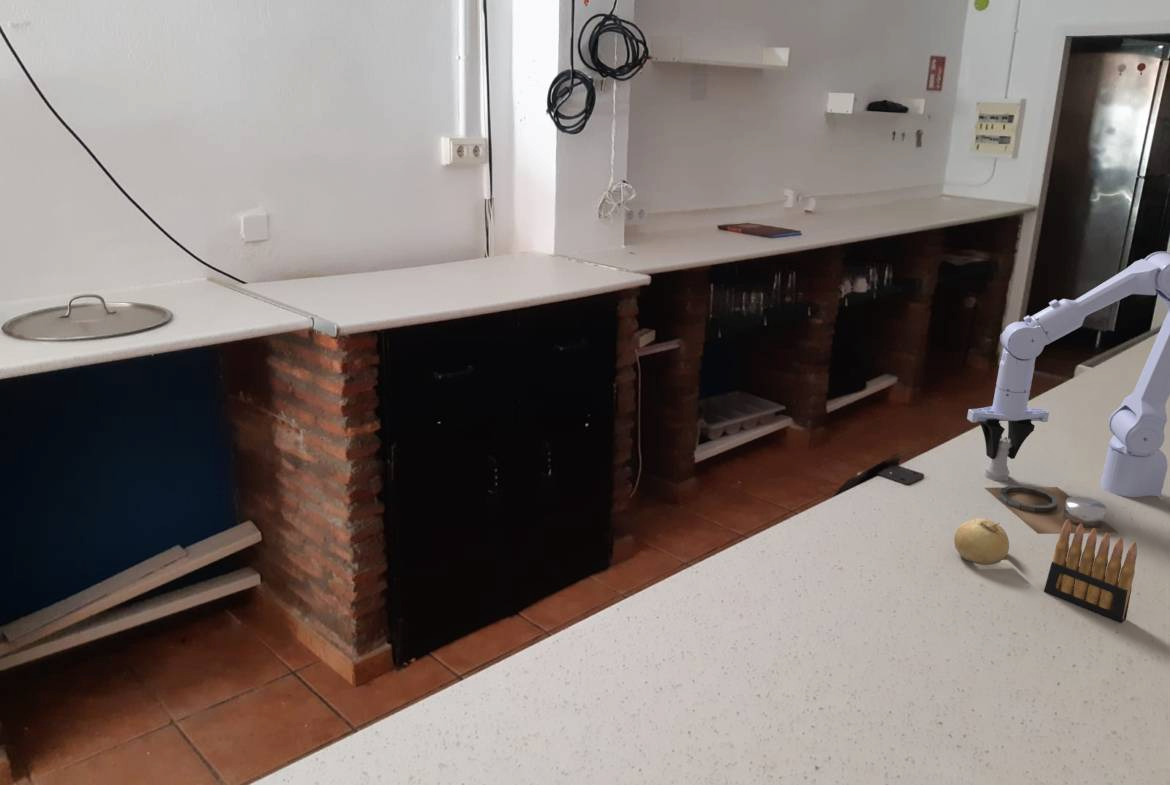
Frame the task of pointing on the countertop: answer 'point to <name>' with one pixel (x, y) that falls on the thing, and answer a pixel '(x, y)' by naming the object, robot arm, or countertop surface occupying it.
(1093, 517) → the silver metal dome
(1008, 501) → the socket ring
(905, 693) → the countertop surface
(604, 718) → the countertop surface
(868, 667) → the countertop surface
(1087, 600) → the ammunition clip
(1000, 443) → the rook chess piece
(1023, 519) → the carrier board
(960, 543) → the onion
